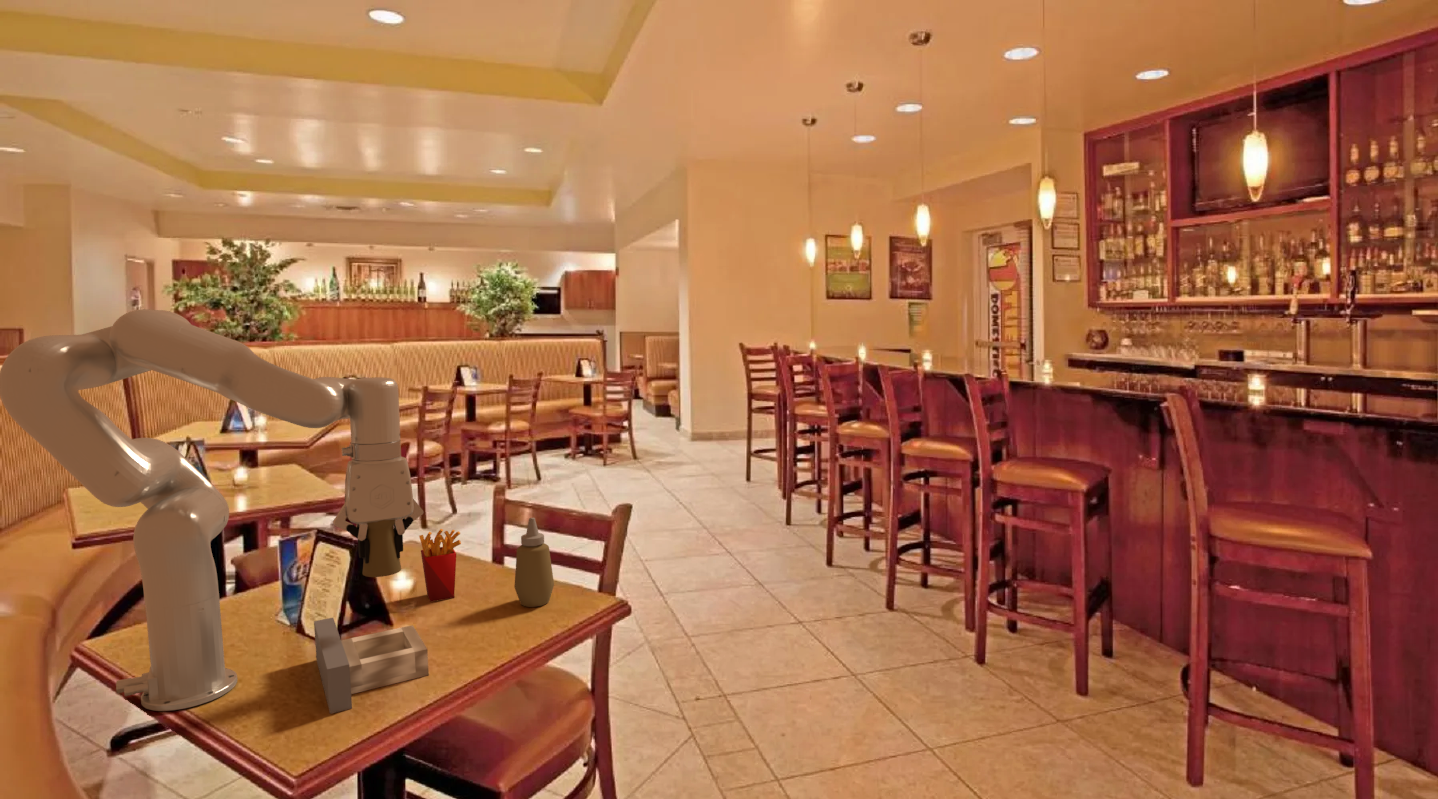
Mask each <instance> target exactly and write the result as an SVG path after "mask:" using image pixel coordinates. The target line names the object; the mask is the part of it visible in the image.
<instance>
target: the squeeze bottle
mask: <svg viewBox="0 0 1438 799" xmlns="http://www.w3.org/2000/svg"><path fill="white" fill-rule="evenodd" d="M520 543H521V545H519V546H518V547H517V548H516V557H515V559H516V560H515V572H514V573H515V575H514V591H515V592H516V595H517V598H518V600H519V603H520V605H521V606H523V607H527V608H529V607H530V608H532V607H533V608H534V607H541V606H544V605H546V604H548V603H549V601H551V600H550V599H551V597H552V593H553V589H554V587H555V582H554V575H553V574H554V573H553V568H552V566H553V565H552V559H551V553H550V552H551V550H550V546H549V545H548V544H547V543H545V534H544V533H541V532H539V529H538V525H537V522H536V518H535V517H530V518H528V524H527V527H526V533H525V534H522V535H521V536H520Z"/></svg>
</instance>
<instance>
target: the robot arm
mask: <svg viewBox="0 0 1438 799" xmlns="http://www.w3.org/2000/svg"><path fill="white" fill-rule="evenodd" d="M150 371H154V372H156V373H159V374H162V375H165V376H169V377H171V378H174V379H178V380H180V381H182V382H185V383H189V384H192V385H195V386H197V387H201V388H203V389H206V390H209V391H212V392H215V393H217V394H219V395H221V396H222V397H224V398H226V399H228V400H231V401H234V402H236V403H238V404H240V405H242V406H244V407H247V408H248V409H250V410H254V411H256V412H259V413H262V414H264V415H267V416H269V417H273V418H275V419H278V420H282V421H284V422H287V423H290V424H294V425H296V426H300V427H302V428H309V429H322V428H325V427H328V426H329V425H332V424H333V423H335V422H338V421H341V420H346V419H349V426H350V444H349V445H348V446H346V447H342V448H341V455H342V457H346V456H347V457H350V459H351V460H349V461H348V462H347V465H346V471H345V480H344V504H343V505H342V506H341V509H339V511H338V513H337V515H336V516H335V518H334V520H333V521H332V522H333V525H334V526H335V527H337V528H339V529H341V530H343V531H346V532H348V533H349V534H351V535H352V536H353V537H355V538H356V539H357V546H358V548H357V549H358V558H359V559H362V560H363V562H364V560H365V564H367V563H369V555H370V543H369V540H368V539H367V535H366V533H367V527H368V525H367V523H371V522H377V521H381V520H393V519H395V524H394V525H393V527H394V533H395V536H394V540H395V549H396V553H397V558H399V559H401V553H403V552H404V540H403V539H404V536H403V535H404V534H405V532H406V530H407V529H408V528H409V527H410V526H411V525H412V524H413V523H414V521H416V520H417V519H418V518H420V517H421V516H423V515H424V513H425V512H424V510H423V508H422V507H421V506H420V505H419V504H418V502H417V501H416V500H415V498H414V493H413V485H412V479H411V472H410V467H409V463H408V459H407V458H406V457H404V456H402V447H401V446H402V444H401V442H402V441H401V423H400V422H401V421H400V420H401V417H400V396H399V395H400V394H399V386H398V383H397V381H396V380H395V379H393V378H390V377H383V376H382V377H377V376H376V377H361V378H356V379H355V378H345V377H344V378H343V377H335V376H334V377H333V376H332V377H331V376H321V377H315V378H311V377H309V376H306V375H302V374H300V373H297V372H294V371H292V370H288V369H286V368H283V367H281V366H278V365H276V364H274V363H272V362H269V361H267V360H265V359H263V358H261V357H260V356H258V355H257V354H256V353H254V351H253V350H252V349H251V348H250V347H249V346H247V345H245V344H244V343H242V342H240V341H238V340H236V339H232V338H230V337H226V336H225V335H222V334H219V333H215V332H213V331H210V330H207V329H204V328H201V327H199V326H196V325H194V324H191V322H189V320H188V319H187V318H185V317H184V316H182V315H180V314H178V313H176V312H172V311H169V310H162V309H161V310H160V309H159V310H158V309H145V308H144V309H136V310H132V311H129V312H128V311H127V312H126V313H124V314H123V315H121V316H119V317H118V318H117V319H116V320H115V321H114V323H113V324H112V326H111V325H110V326H108V327H103V328H100V329H97V330H93V331H91V332H90V331H89V332H86V333H81V334H53V335H43V336H39V337H34V338H32V339H28V340H27V341H24V342H23V343H21V344H19V345H17V346H16V347H15V348H14V349H13V350H12V351H11V352H10V353H9V354H8V355H7V357H6V358H5V360H4V361H3V364H2V366H1V367H0V399H1V402H2V404H3V406H4V408H5V410H6V411H7V413H8V415H9V416H10V417H11V418H12V420H14V421H15V423H16V424H18V426H19V427H20V428H21V429H22V430H24V431H25V433H27V434H28V435H29V436H30V437H32V439H34V441H36V442H37V443H38V444H39V445H40V446H42V448H44V449H45V450H46V451H47V452H48V454H50V455H51V456H52V457H53V458H54V459H55V460H56V461H57V463H59V464H60V466H62V467H63V468H64V469H65V470H66V471H67V472H68V473H69V474H70V475H71V476H72V477H74V479H75V480H77V481H78V482H79V483H80V485H82V486H83V487H84V488H85V489H86V490H87V491H88V492H89V493H90V494H91V495H93V496H94V497H95V499H97V500H99V502H101V503H102V504H104V505H107V506H110V507H113V508H114V507H115V508H125V507H130V506H131V507H132V506H134V505H136V504H140V503H141V504H142V506H144V507H145V508H146V510H145V511H144V513H143V514H142V515H141V516H140V517H139V519H138V520H137V523H136V525H135V527H134V530H133V537H132V538H133V548H134V552H135V557H136V560H137V562H138V563H137V564H138V566H139V567H138V568H139V570H140V576H141V581H142V588H143V599H144V606H145V616H146V627H147V638H148V639H147V640H148V650H149V659H150V660H149V662H150V667H149V671H148V672H144V673H141V676H137V677H132V678H131V677H129V678H124V679H119V680H116V682H115V686H116V687H115V690H116V694H122V693H124V697H128V696H133V695H136V694H140V693H141V696H140V704H141V706H142V707H143V708H145V709H147V710H150V711H156V712H166V711H167V712H169V711H178V710H185V709H189V708H192V707H196V706H200V705H202V704H206V703H208V702H212V701H213V700H217V699H218V698H220V697H222V696H224V695H225V694H228V692H230V691H231V690H232V689H234V687H235V686H236V685H237V683H238V675H237V672H236V671H234V670H233V669H231V668H230V669H229V668H226V666H225V664H226V662H225V651H224V642H223V641H224V640H223V627H222V616H221V614H222V613H221V602H220V601H221V600H220V593H219V592H220V591H219V580H218V573H217V567H216V563H215V559H214V557H213V556H214V555H213V553H212V548H211V546H212V545H211V543H212V541H213V540H214V539H215V538H216V537H217V536H218V535H219V534H221V533H222V532H223V530H224V529H225V528H226V527H227V524H228V522H229V519H230V507H229V504H228V502H227V500H226V498H225V496H223V494H222V493H221V492H220V490H218V489H217V487H216V486H215V485H213V484H212V482H210V480H208V479H207V478H206V477H205V476H204V475H203V474H202V473H201V472H200V471H199V469H198V468H196V467H195V466H194V464H192V463H191V462H190V461H189V460H188V459H187V458H186V457H185V456H184V455H183V454H182V453H181V452H180V451H179V450H177V448H175V447H174V446H172V445H171V444H169V443H167V442H166V441H163V440H160V439H158V438H152V437H136V438H130V436H128V434H126V433H125V432H124V431H123V430H122V429H120V428H119V426H117V425H116V424H115V423H114V422H113V421H112V420H111V419H110V417H108V416H107V415H106V414H105V413H104V412H102V410H100V409H99V408H97V407H96V406H94V405H93V404H91V402H88V401H87V400H86V399H84V398H83V396H81V394H80V393H79V391H82V390H88V389H95V388H99V387H103V386H105V385H109V384H113V383H116V382H119V381H121V380H125V379H129V378H132V377H134V376H138V375H140V374H144V373H147V372H150ZM346 519H348V521H350V522H348V521H346ZM354 524H356V526H355V525H354Z"/></svg>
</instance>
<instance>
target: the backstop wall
mask: <svg viewBox="0 0 1438 799" xmlns="http://www.w3.org/2000/svg"><path fill="white" fill-rule="evenodd" d="M313 627H314V628H313V629H314V642H315V655H316V656H315V658H316V663H317V667H318V671H319V674H320V679H321V683H322V687H323V692H324V694H325V695H324V696H325V699H326V702H327V703H326V704H327V707H328V711H329V714H330V715H331V714H335V713H339V712H344V711H347V710H351V709H352V708H353V702H352V701H353V700H352V694H351V683H350V667H349V662H348V659H347V656H346V653H345V650H344V647H343V645H342V642H341V640H342V639H341V637H340V634H339V630H338V627H337V625H336V621H335V619H334V617H329V618H324V619H318V620H314V621H313Z"/></svg>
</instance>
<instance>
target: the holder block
mask: <svg viewBox="0 0 1438 799" xmlns="http://www.w3.org/2000/svg"><path fill="white" fill-rule="evenodd" d="M341 642H342V645H343V647H344V650H345V653H346V656H347V659H348V662H349V667H350V683H351V695H353V694H357V693H358V694H359V693H361V692H365V691H369V690H374V689H378V688H382V687H385V686H389V685H394V684H398V683H402V682H406V681H410V680H414V679H418V678H421V677H426V676H429V675H430V674H429V656H428V655H429V654H428V647H427V646H426V644H425V642H424V641H423V639H422V638H421V636H420V634H419V633H418V631H417V630H416V628H415V626H414V625H413V624H412V625H408V626H401V627H398V628H394V629H392V628H391V629H388V630H382V631H378V632H374V633H369V634H364V635H360V636H355V637H350V638H345V639H341Z"/></svg>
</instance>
